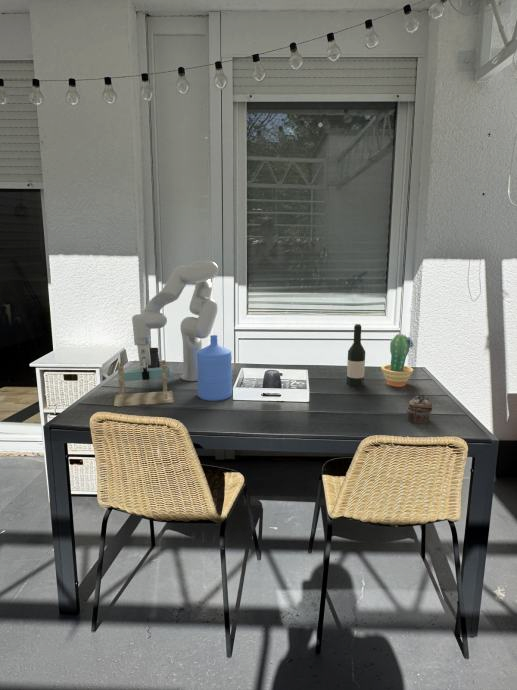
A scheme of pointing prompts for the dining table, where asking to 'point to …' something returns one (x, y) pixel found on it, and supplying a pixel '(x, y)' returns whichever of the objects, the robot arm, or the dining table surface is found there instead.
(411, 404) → the cupcake
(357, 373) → the wine bottle
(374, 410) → the dining table surface
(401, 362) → the potted cactus
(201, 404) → the dining table surface
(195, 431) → the dining table surface
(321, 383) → the dining table surface
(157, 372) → the teal long bar
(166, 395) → the stand
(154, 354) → the phone stand
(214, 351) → the water jug
